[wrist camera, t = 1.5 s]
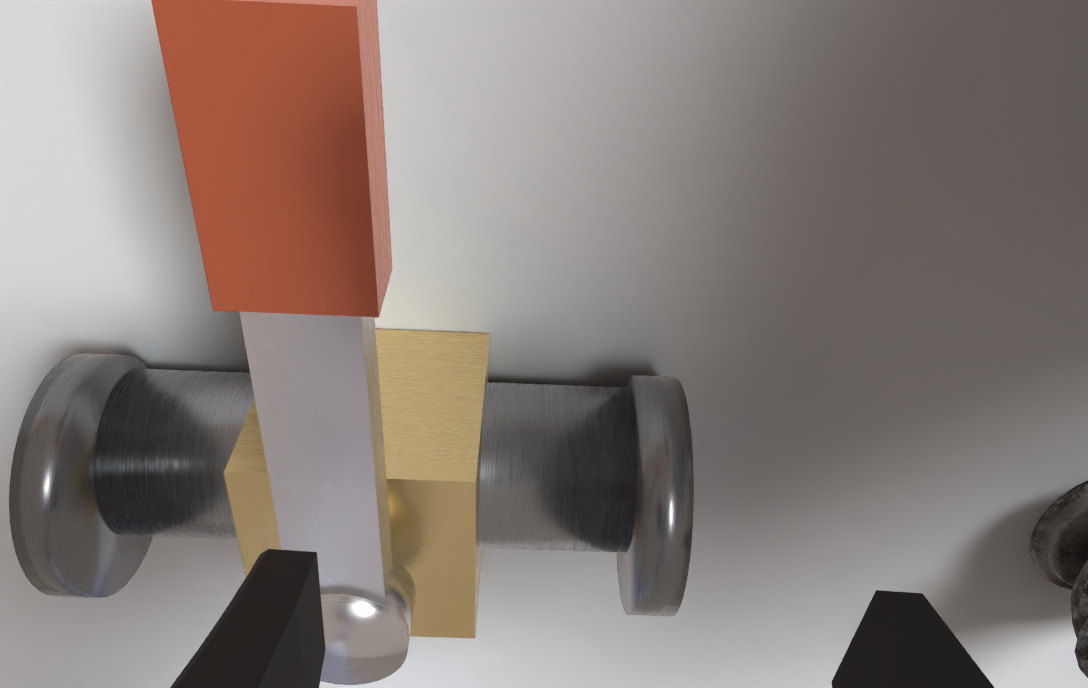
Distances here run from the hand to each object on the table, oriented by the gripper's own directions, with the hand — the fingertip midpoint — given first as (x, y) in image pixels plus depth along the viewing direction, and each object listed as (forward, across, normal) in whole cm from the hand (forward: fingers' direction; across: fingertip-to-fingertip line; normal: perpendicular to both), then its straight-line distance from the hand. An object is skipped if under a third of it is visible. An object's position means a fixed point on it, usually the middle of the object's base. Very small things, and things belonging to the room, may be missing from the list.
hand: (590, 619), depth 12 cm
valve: (+11, +4, +6) cm, 13 cm away
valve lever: (+5, +4, 0) cm, 7 cm away
